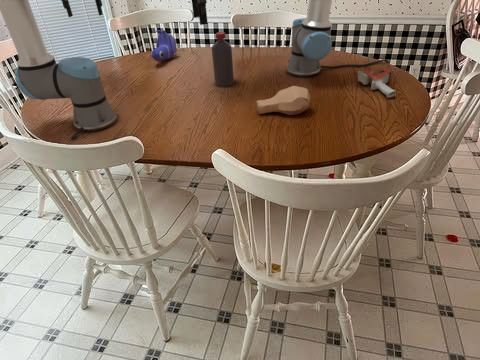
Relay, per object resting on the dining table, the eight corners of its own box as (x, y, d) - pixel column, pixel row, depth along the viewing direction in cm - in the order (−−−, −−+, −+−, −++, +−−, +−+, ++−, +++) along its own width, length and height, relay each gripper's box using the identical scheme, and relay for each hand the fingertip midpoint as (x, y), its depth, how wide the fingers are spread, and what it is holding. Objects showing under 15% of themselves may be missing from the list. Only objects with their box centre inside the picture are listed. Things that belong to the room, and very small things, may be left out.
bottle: (217, 88, 155) (213, 37, 142) (213, 81, 161) (208, 33, 149) (236, 84, 157) (233, 35, 144) (230, 78, 163) (227, 30, 151)
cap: (217, 39, 145) (217, 34, 144) (215, 37, 148) (214, 32, 147) (226, 38, 146) (226, 33, 145) (223, 36, 149) (223, 31, 148)
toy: (165, 61, 201) (145, 67, 179) (160, 29, 194) (139, 31, 172) (181, 61, 199) (163, 66, 177) (177, 28, 192) (158, 30, 170)
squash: (314, 116, 128) (313, 95, 122) (259, 125, 130) (256, 105, 124) (308, 99, 136) (307, 78, 129) (257, 108, 138) (253, 88, 131)
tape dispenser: (391, 103, 136) (403, 82, 149) (394, 90, 133) (407, 70, 145) (346, 93, 144) (362, 74, 156) (348, 81, 140) (364, 62, 153)
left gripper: (102, -44, 147) (116, 12, 160) (44, -40, 148) (61, 15, 160) (96, -42, 141) (111, 15, 153) (35, -38, 142) (54, 19, 154)
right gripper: (177, -46, 133) (185, 15, 145) (187, -42, 113) (196, 28, 126) (197, -48, 134) (203, 13, 147) (210, -44, 115) (217, 26, 127)
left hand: (85, 15), depth 157 cm, fingers open, 13 cm apart
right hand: (200, 20), depth 136 cm, fingers open, 13 cm apart
